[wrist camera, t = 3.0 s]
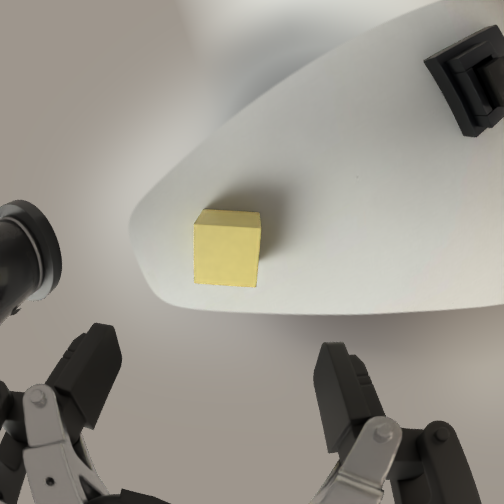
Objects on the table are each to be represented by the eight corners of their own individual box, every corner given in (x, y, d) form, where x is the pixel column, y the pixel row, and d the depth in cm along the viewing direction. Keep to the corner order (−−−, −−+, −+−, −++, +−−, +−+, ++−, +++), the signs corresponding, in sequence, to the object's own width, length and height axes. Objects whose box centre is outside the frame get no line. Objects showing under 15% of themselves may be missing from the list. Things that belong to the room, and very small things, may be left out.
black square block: (489, 106, 14) (505, 107, 12) (471, 69, 13) (487, 67, 11) (505, 93, 13) (519, 93, 11) (488, 58, 12) (502, 56, 10)
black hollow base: (463, 136, 19) (490, 139, 15) (422, 60, 16) (448, 52, 13) (517, 88, 15) (540, 88, 12) (486, 27, 13) (508, 21, 9)
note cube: (202, 260, 23) (194, 283, 20) (203, 208, 22) (193, 223, 18) (255, 263, 23) (256, 287, 20) (259, 212, 22) (261, 228, 18)
